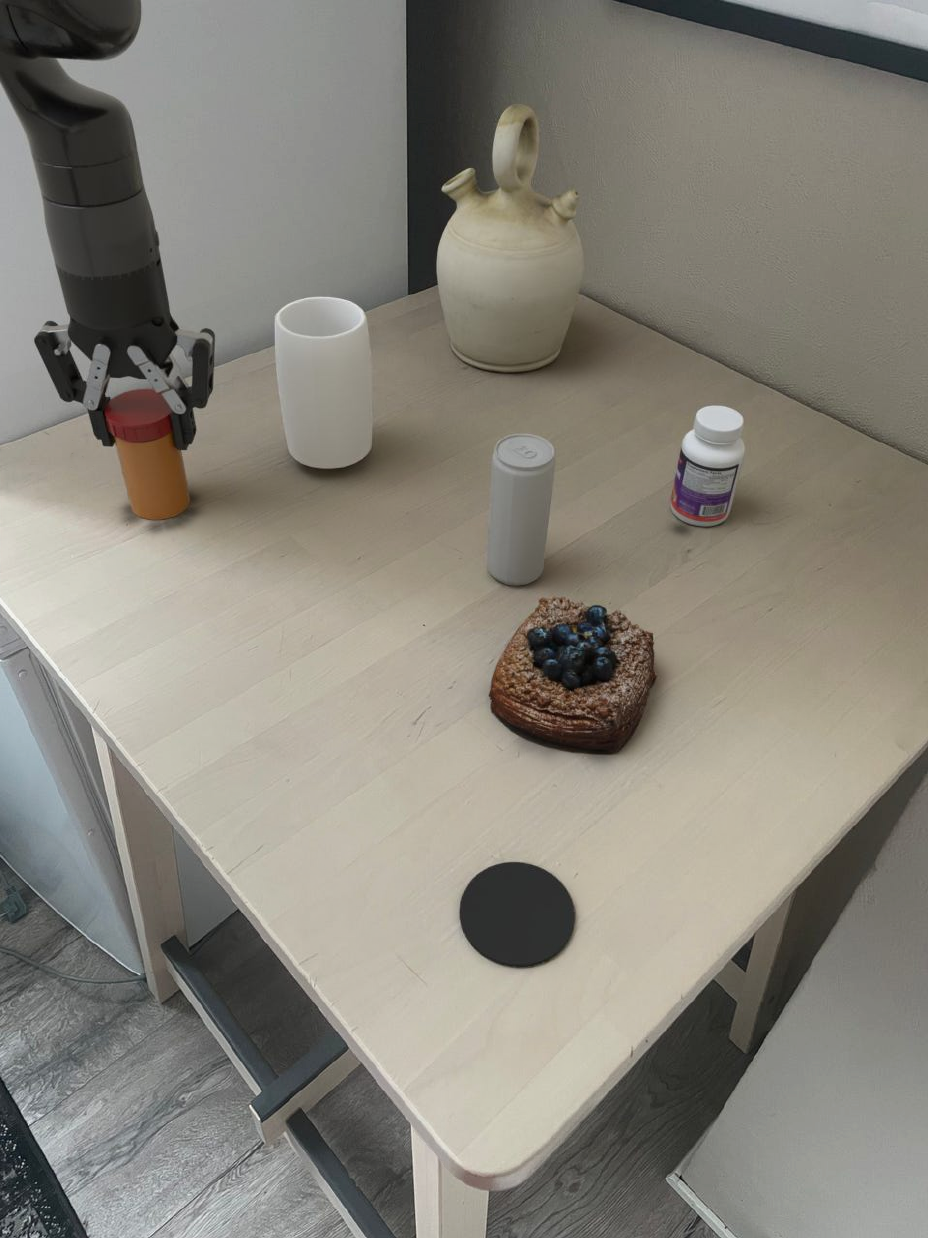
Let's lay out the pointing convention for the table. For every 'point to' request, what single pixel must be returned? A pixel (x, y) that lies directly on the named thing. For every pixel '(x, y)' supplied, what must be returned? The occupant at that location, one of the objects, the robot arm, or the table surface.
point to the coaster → (517, 914)
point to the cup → (324, 381)
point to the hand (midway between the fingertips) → (148, 442)
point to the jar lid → (138, 415)
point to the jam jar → (154, 477)
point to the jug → (509, 258)
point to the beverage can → (519, 508)
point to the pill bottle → (708, 467)
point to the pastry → (574, 678)
